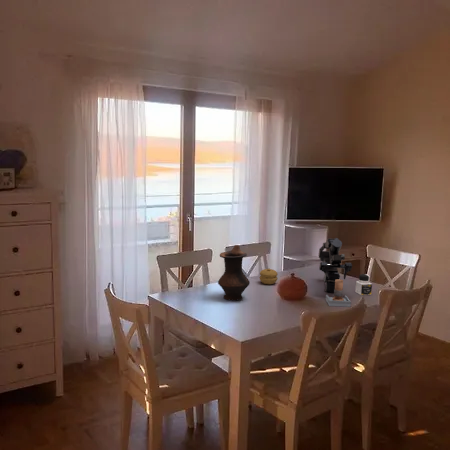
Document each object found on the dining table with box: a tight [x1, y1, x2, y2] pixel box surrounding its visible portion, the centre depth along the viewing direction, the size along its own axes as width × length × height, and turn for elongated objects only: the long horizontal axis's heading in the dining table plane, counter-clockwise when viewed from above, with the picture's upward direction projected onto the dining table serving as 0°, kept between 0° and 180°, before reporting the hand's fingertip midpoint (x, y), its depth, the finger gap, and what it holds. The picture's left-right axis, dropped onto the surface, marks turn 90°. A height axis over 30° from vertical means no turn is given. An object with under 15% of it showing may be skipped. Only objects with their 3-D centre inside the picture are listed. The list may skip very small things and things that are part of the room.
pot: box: [258, 268, 279, 285], centre depth 326 cm, size 12×12×10 cm
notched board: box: [325, 294, 352, 308], centre depth 288 cm, size 12×12×3 cm
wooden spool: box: [332, 278, 345, 301], centre depth 288 cm, size 6×6×12 cm
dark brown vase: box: [217, 244, 251, 301], centre depth 291 cm, size 21×18×30 cm
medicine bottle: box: [355, 273, 373, 296], centre depth 309 cm, size 7×7×12 cm
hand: (336, 278), depth 294 cm, fingers open, 9 cm apart
